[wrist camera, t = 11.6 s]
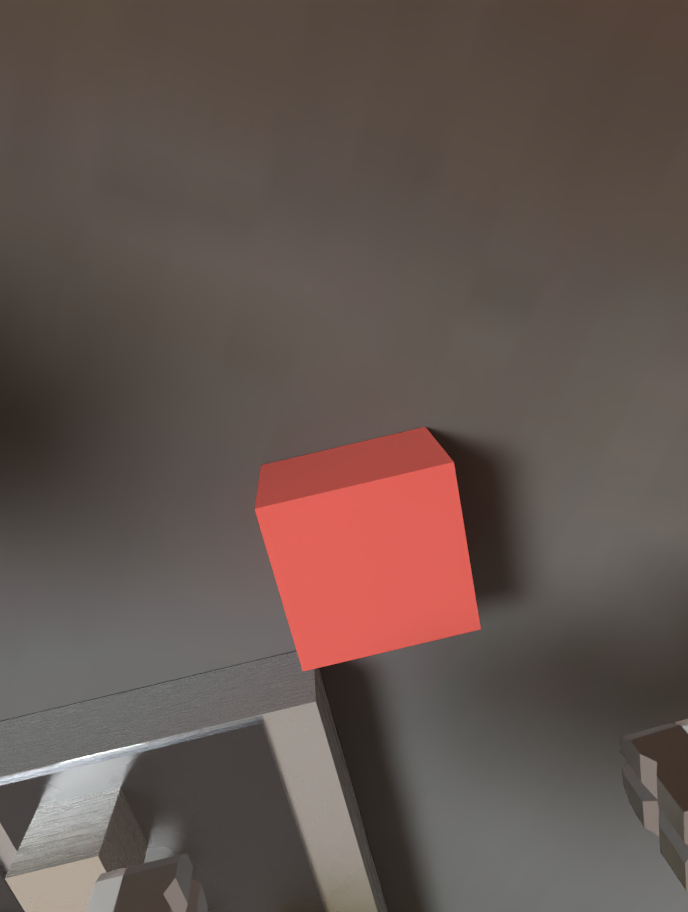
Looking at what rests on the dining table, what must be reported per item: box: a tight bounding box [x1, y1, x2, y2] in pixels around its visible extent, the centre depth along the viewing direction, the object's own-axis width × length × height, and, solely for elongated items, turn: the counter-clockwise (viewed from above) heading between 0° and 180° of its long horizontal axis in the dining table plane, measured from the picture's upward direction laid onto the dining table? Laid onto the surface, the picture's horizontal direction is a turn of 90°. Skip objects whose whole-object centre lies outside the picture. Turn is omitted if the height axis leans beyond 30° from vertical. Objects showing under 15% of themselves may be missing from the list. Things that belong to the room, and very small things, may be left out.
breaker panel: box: [0, 651, 388, 912], centre depth 23 cm, size 18×16×6 cm
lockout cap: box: [255, 427, 481, 671], centre depth 20 cm, size 6×6×4 cm
